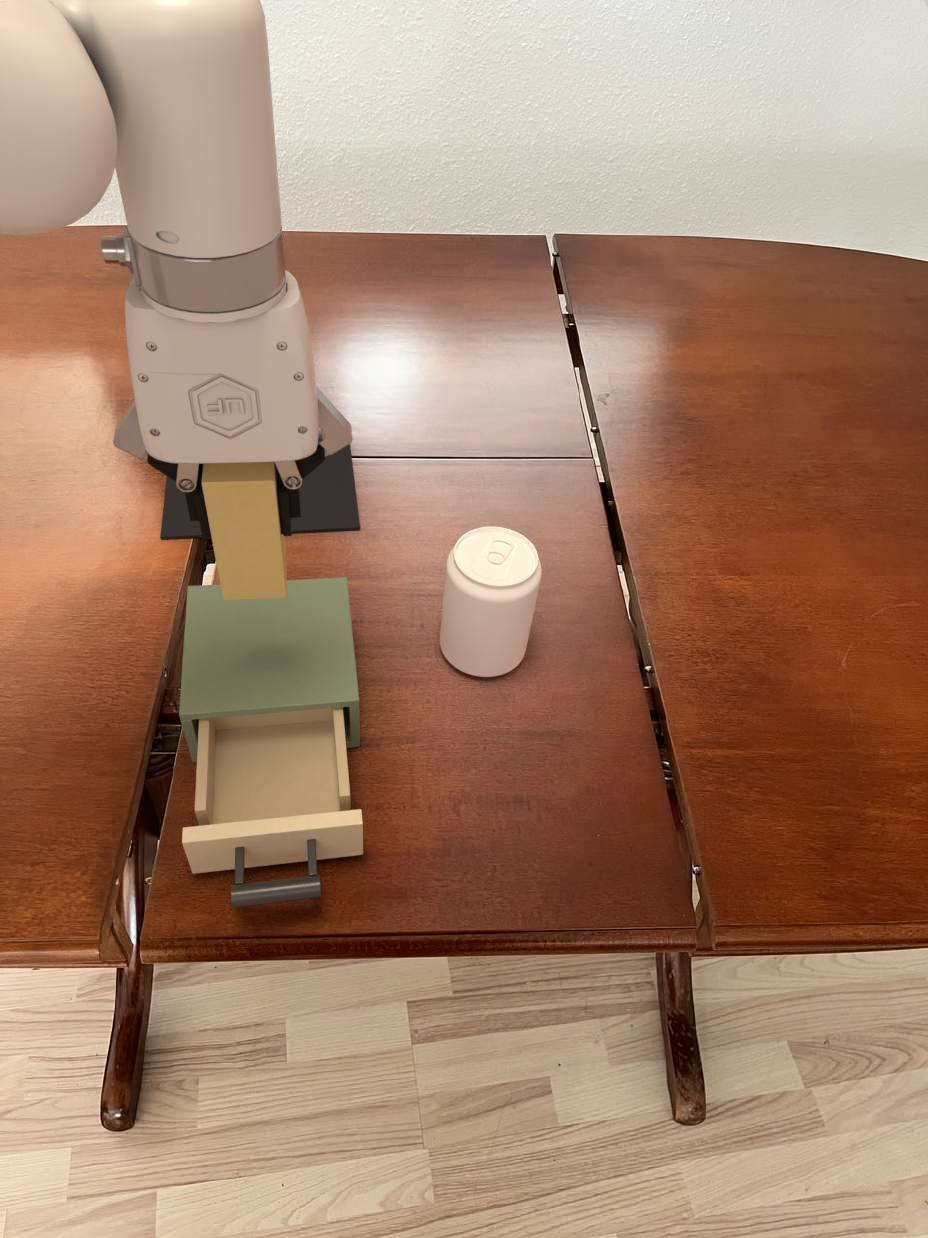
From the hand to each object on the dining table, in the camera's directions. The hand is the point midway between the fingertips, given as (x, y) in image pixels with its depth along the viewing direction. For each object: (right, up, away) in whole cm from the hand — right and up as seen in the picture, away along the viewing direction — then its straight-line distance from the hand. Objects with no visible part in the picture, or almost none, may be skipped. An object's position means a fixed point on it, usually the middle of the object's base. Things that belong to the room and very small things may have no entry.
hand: (248, 521), depth 58 cm
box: (0, -4, +4) cm, 5 cm away
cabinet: (-2, -13, +17) cm, 21 cm away
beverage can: (+16, -9, +22) cm, 29 cm away
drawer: (0, -22, +8) cm, 23 cm away
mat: (-7, +8, +35) cm, 37 cm away
